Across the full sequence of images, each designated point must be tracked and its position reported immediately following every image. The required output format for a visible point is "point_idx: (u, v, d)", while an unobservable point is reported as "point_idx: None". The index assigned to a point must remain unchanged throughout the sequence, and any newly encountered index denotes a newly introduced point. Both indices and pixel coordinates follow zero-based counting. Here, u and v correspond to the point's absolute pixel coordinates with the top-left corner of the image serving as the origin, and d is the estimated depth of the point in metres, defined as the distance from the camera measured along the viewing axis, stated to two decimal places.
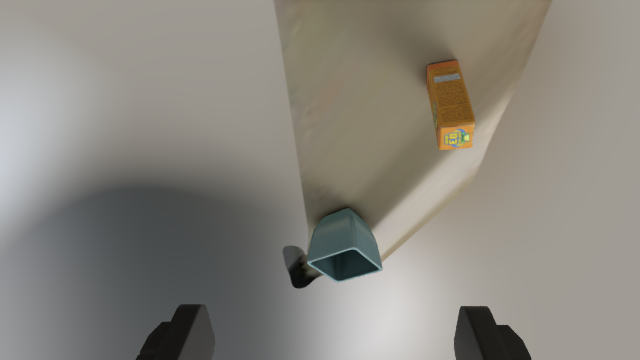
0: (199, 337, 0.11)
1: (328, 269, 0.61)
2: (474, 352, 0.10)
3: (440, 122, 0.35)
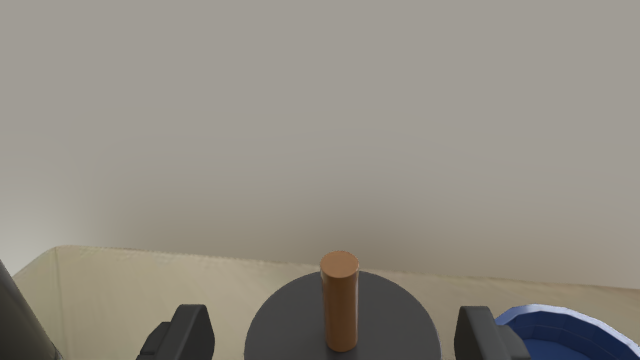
0: (199, 337, 0.11)
1: None
2: (474, 353, 0.10)
3: None
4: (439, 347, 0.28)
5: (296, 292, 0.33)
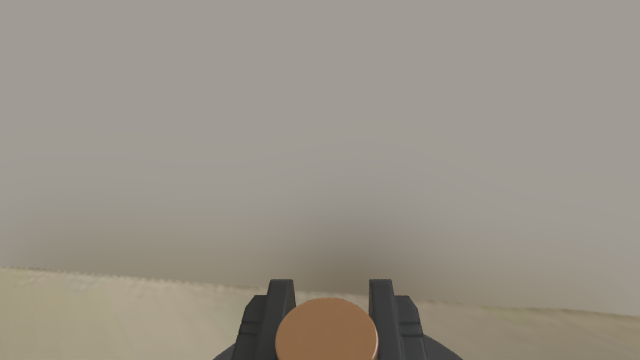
0: (291, 309, 0.12)
1: None
2: (372, 318, 0.11)
3: None
4: None
5: None
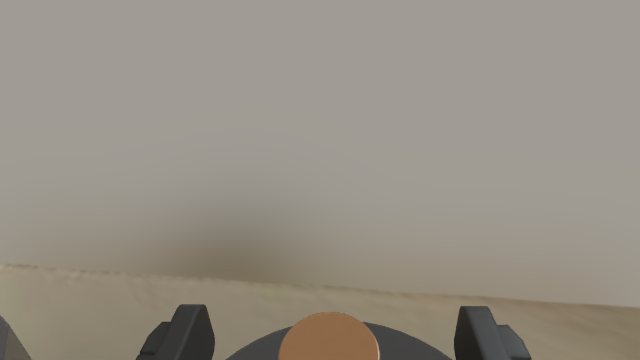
0: (199, 337, 0.11)
1: None
2: (474, 353, 0.10)
3: None
4: None
5: None
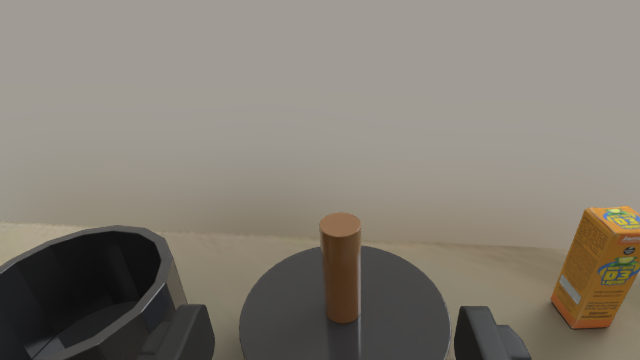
0: (199, 337, 0.11)
1: None
2: (474, 353, 0.10)
3: (610, 241, 0.26)
4: (447, 317, 0.26)
5: (295, 267, 0.31)
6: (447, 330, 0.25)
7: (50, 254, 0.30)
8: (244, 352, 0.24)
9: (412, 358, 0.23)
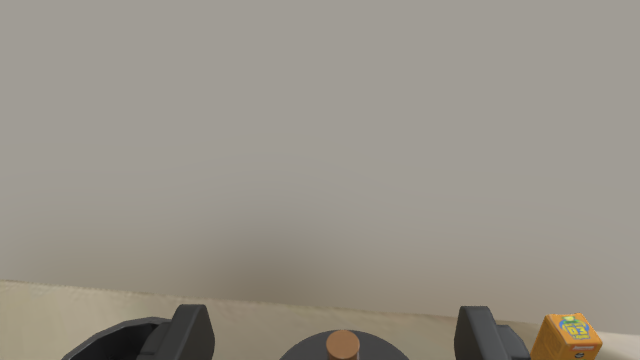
0: (199, 337, 0.11)
1: None
2: (474, 353, 0.10)
3: (564, 348, 0.31)
4: None
5: (303, 354, 0.37)
6: None
7: (98, 345, 0.36)
8: None
9: None
